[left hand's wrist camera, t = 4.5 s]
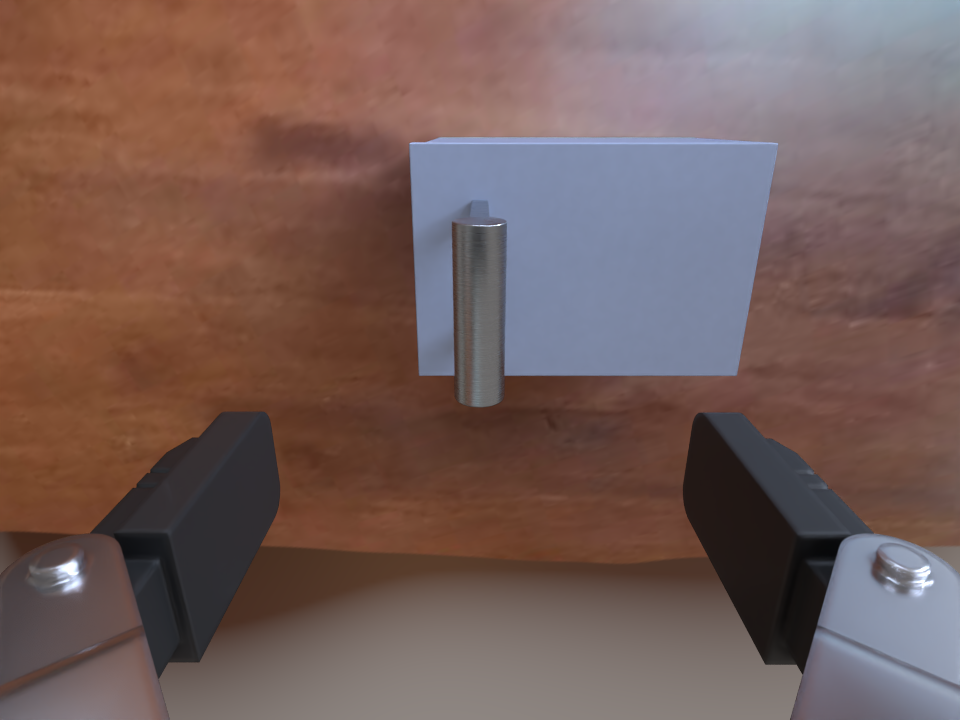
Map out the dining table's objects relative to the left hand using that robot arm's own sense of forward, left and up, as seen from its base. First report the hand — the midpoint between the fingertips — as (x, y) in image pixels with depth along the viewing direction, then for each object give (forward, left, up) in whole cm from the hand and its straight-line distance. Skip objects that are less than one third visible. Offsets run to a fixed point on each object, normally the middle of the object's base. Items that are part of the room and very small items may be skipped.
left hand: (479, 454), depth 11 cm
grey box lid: (+5, -1, -17) cm, 17 cm away
